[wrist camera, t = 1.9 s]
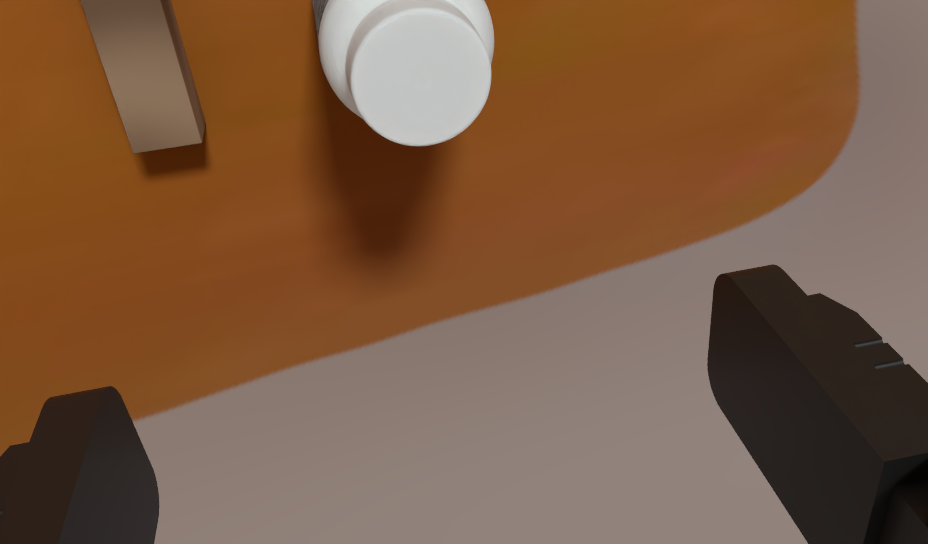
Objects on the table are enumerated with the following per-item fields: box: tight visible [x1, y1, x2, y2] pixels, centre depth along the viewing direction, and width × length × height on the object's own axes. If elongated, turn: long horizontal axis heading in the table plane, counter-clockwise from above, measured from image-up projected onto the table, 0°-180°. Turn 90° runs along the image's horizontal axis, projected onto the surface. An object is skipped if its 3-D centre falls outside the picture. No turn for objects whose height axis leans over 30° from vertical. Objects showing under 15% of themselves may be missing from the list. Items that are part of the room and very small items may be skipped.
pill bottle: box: [312, 0, 494, 146], centre depth 27 cm, size 5×5×10 cm
